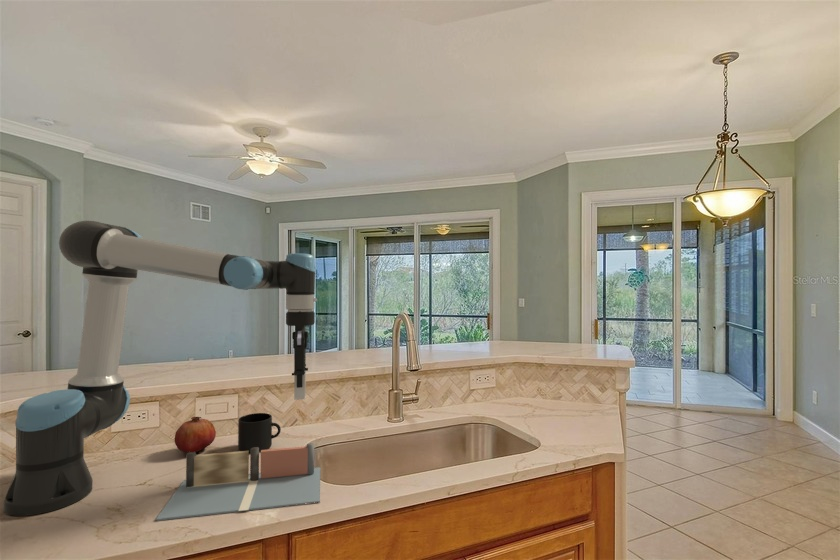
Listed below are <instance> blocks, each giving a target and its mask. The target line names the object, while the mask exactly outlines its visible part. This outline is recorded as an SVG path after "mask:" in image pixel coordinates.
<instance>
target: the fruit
mask: <svg viewBox="0 0 840 560" xmlns="http://www.w3.org/2000/svg"><path fill="white" fill-rule="evenodd" d="M190 419H191V420H188V421H185V422H183V423H182V424H181V425H179V427H178V428H177V430H176V431H175V435H174V444H175V446H176V448H177V450H179V451H181V452H183V453H184V452H185V453H190V452H195V453H197V452H201V451H202V450H205V449H206V448H207V447H209V446H210V445H212V443H213V442H214V441H215V439H216V435H217V431H216V428H215V425H214V424H213V422H212V421H210V420H209V419H205V418H202V417H201V416H192V417H190Z"/></svg>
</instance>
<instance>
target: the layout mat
mask: <svg viewBox="0 0 840 560" xmlns="http://www.w3.org/2000/svg"><path fill="white" fill-rule="evenodd" d="M314 502H320V503H321V466H319V467H318V466H317V467H314V473H313V474H302V475H292V476H281V477H271V478H261V472H259V479H258V480H256V481H251V480H250V473H249V479H248V481H239V482H229V483H218V484H208V485H198V486H192V487H186V479H184V480H182V482H181V483H180V485H179V486H178V487H177V489H176V490H175V492H174V493H173V495H172V496H171V497H170V499H169V500H168V501H167V503H166V505H165V506H164V507H163V508H162V510H161V511H160V513H159V514H158V515H157V517H156V519H155V522H160V521H169V520H176V519H185V518H194V517H204V516H213V515H221V514H230V513H231V514H232V513H238V512H239V513H240V512H241V513H242V512H247V511H259V510H265V509H266V510H268V509H276V508H283V506H286V507H290V506H289V505H295V506H297V505H296V504H304V505H306V504H305V503H313V504H315V503H314Z"/></svg>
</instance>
